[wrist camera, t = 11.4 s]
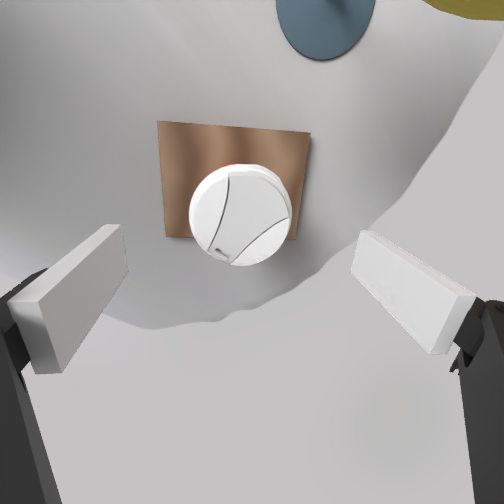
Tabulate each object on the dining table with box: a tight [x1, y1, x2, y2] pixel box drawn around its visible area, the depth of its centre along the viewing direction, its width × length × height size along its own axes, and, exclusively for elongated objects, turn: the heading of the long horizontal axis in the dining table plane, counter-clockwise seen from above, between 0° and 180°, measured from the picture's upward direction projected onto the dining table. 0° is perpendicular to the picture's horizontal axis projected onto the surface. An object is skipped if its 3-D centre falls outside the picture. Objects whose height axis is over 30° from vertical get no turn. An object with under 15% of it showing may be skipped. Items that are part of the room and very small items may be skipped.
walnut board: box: [157, 121, 310, 240], centre depth 33 cm, size 18×14×2 cm
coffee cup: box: [189, 163, 292, 266], centre depth 26 cm, size 8×8×15 cm
